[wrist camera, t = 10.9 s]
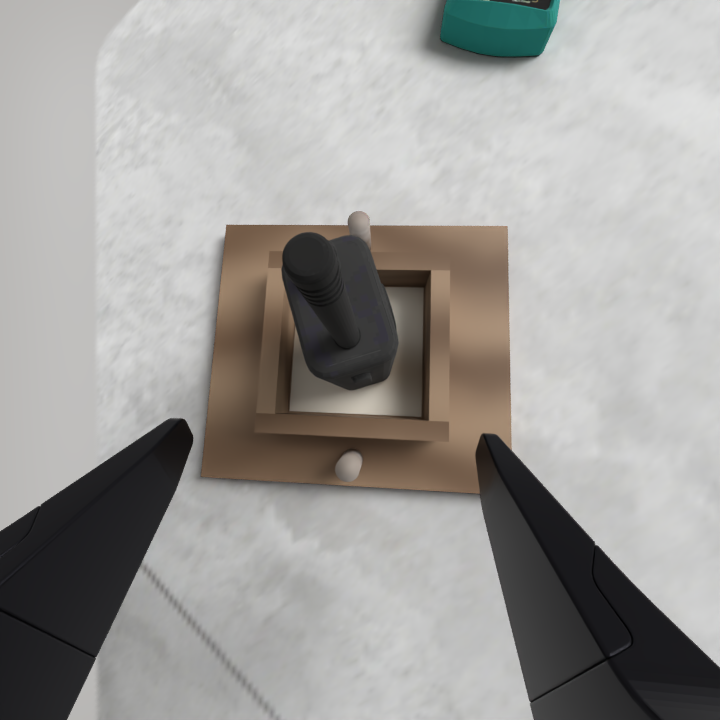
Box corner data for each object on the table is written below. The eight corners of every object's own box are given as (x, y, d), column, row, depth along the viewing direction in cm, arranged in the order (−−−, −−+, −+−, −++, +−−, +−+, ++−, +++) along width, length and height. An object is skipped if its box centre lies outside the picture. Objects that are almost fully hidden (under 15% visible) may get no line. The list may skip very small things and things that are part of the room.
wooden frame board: (505, 490, 19) (538, 513, 15) (209, 473, 20) (168, 490, 16) (501, 234, 21) (529, 195, 17) (233, 232, 22) (201, 196, 18)
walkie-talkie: (322, 322, 20) (155, 89, 5) (375, 305, 20) (358, 21, 5) (344, 397, 19) (223, 377, 4) (398, 380, 19) (459, 303, 4)
